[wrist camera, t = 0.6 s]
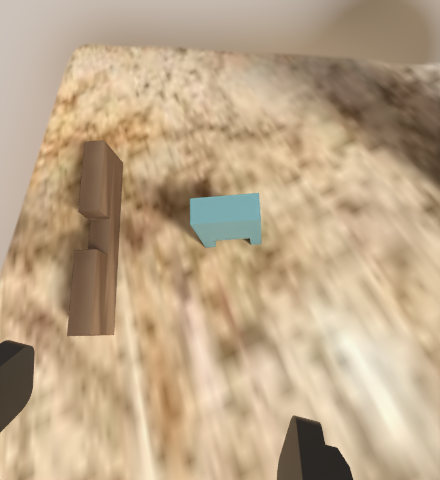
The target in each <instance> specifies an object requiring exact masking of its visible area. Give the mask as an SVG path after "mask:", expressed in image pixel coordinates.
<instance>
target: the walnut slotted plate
mask: <svg viewBox="0 0 440 480" xmlns="http://www.w3.org/2000/svg"><path fill="white" fill-rule="evenodd" d="M122 172H123V162H122V161H121V160H120V159H119V158H118V156H117V155H116V154H115V153H114V151H113V150H112V149H111V148H110V147H109V145H108V144H107V143H106V142H105V141H104V140H100V141H90V142H85V143H84V154H83V165H82V176H81V187H80V198H79V210H78V212H79V213H81V214H82V215H84V216H85V217H87V218H88V219H90V220H91V221H90V234H89V247H88V250H76V251H75V254H74V265H73V276H72V288H71V299H70V310H69V321H68V332H67V336H95V335H114V324H115V305H116V286H117V267H118V248H119V229H120V210H121V191H122Z"/></svg>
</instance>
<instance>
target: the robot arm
mask: <svg viewBox="0 0 440 480" xmlns="http://www.w3.org/2000/svg"><path fill="white" fill-rule="evenodd" d="M33 373H34V348H33V347H32V346H29V345H25V344H22V343H18V342H14V341H10V340H6V341H4V342H2V343H1V344H0V432H1V431H2V430H3V429H4V428H5V427H6V426H7V425H8V424H9V423H10V422H11V421H12V420H13V419H14V418H15V417H16V416H17V415H18V414H19V413H20V412H21V411H22V410H23V408H24V407H25V406H26V404H27V402H28V401H29V398H30V396H31V393H32V389H33ZM277 480H353V478H352V474H351V470H350V467H349V465H348V464H347V462H346V461H345V459H344V457H343V456H342V454H341V453H340V451H339V450H338V448H336V447H332V446H328V445H325V441H324V436H323V431H322V427H321V424H320V422H317V421H313V420H309V419H306V418H302V417H298V416H293V417H292V419H291V421H290V424H289V428H288V431H287V434H286V438H285V441H284V444H283V448H282V451H281V454H280V458H279V463H278V471H277Z"/></svg>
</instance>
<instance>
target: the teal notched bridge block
mask: <svg viewBox="0 0 440 480" xmlns="http://www.w3.org/2000/svg"><path fill="white" fill-rule="evenodd" d="M190 225H191V226H192V228H193V229H194V231H195V232H196V234H197V235H198V237H199V238H200V240H201V241H202V243H203V244H204V246H205V247H216V240H232V239H247V238H250V242H251V245H254V244H261V216H260V202H259V193H253V194H240V195H228V196H215V197H203V198H190Z"/></svg>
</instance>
